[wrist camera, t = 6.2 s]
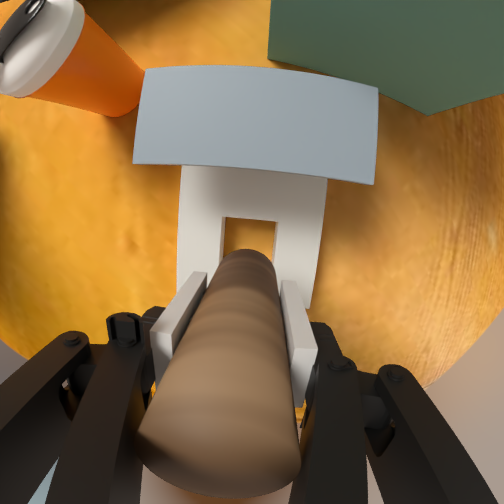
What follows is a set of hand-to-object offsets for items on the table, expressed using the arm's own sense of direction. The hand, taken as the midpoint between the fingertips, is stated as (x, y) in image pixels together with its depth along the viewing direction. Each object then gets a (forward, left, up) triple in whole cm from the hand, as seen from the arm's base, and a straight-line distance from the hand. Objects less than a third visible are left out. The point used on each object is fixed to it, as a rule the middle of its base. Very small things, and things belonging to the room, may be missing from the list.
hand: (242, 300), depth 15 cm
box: (+12, +31, -16) cm, 37 cm away
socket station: (0, +4, -16) cm, 17 cm away
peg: (0, 0, -4) cm, 4 cm away
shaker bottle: (-17, +17, -16) cm, 29 cm away
